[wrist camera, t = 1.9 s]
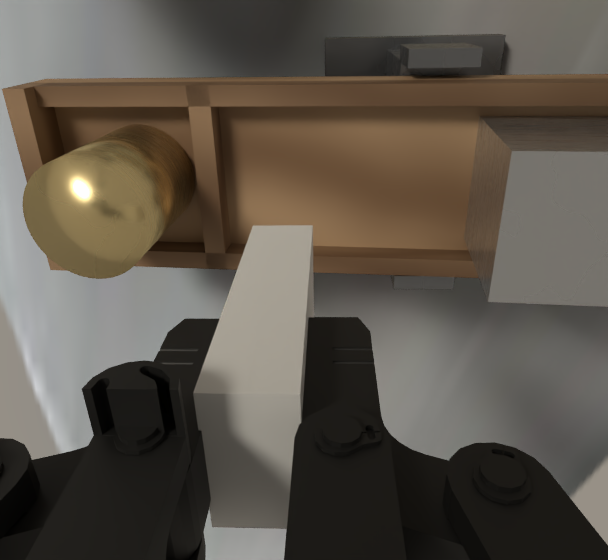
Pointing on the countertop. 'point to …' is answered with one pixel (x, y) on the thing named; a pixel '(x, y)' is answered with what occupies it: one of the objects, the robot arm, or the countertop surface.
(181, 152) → the cylinder
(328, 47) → the fulcrum
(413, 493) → the robot arm
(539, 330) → the countertop surface
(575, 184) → the block
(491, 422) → the countertop surface
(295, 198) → the wooden tray
